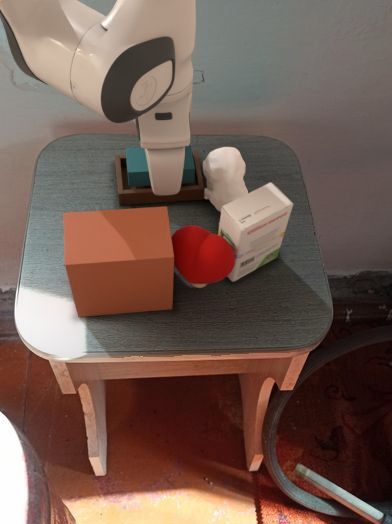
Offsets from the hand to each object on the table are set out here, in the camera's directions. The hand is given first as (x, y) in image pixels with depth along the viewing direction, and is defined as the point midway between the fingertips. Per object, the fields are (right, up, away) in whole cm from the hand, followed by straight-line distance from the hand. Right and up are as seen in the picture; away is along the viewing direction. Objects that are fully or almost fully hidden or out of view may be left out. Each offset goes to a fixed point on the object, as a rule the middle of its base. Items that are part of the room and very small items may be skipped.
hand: (159, 170), depth 87 cm
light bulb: (+6, -18, -6) cm, 20 cm away
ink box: (+13, -14, -3) cm, 20 cm away
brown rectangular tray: (0, -1, +2) cm, 3 cm away
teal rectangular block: (0, 0, +1) cm, 1 cm away
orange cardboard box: (-5, -19, -7) cm, 21 cm away
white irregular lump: (+10, -6, +1) cm, 12 cm away
